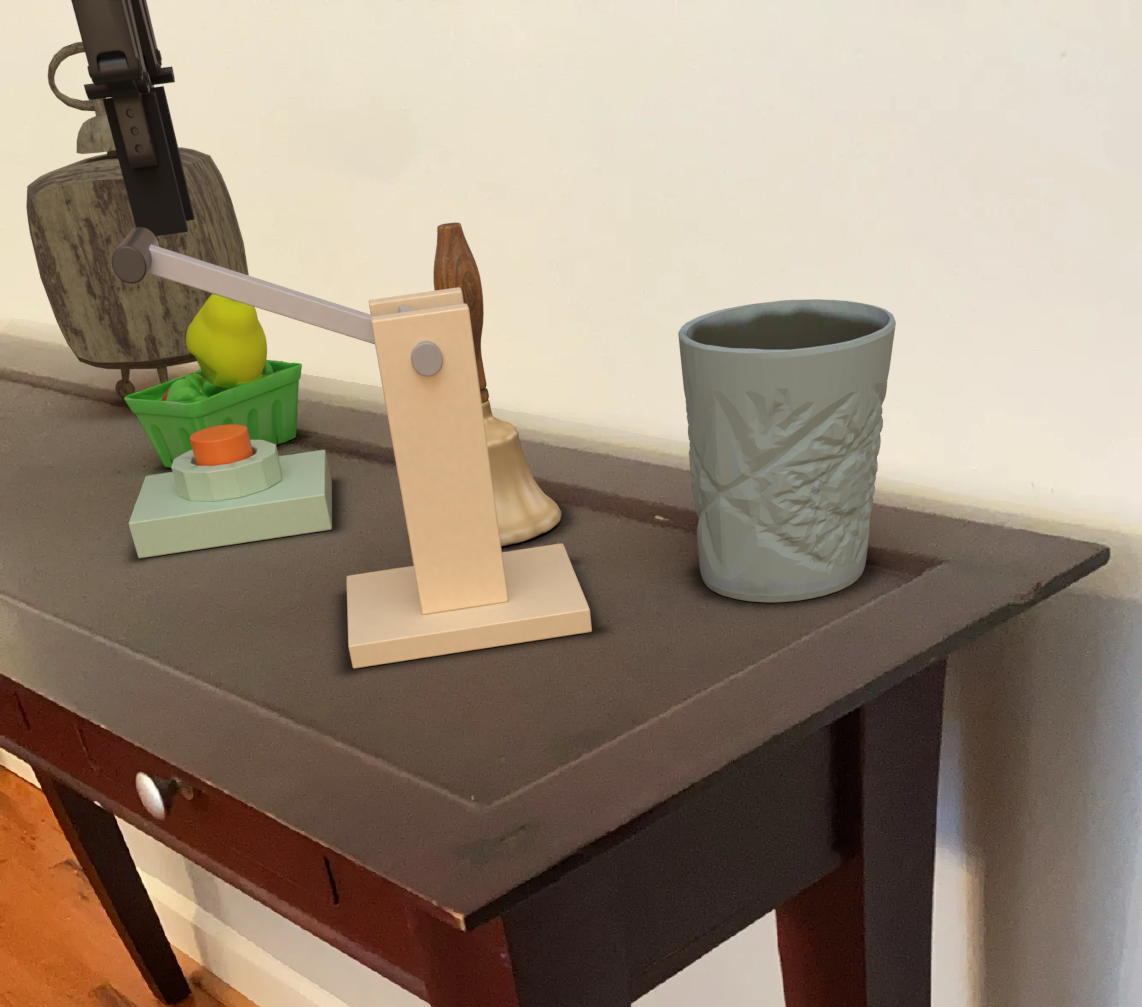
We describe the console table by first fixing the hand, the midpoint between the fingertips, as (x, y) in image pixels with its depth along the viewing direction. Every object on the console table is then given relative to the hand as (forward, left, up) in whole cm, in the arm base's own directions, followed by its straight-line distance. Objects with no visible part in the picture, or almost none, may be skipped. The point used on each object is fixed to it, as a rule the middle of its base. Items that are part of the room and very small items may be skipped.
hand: (167, 227), depth 79 cm
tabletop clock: (-7, +34, -17) cm, 39 cm away
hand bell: (+16, -9, -17) cm, 25 cm away
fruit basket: (-1, +16, -17) cm, 23 cm away
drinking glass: (+30, -23, -17) cm, 41 cm away
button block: (0, 0, -17) cm, 17 cm away
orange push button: (0, 0, -13) cm, 13 cm away
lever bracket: (+13, -22, -17) cm, 30 cm away
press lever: (+7, -22, -2) cm, 23 cm away
